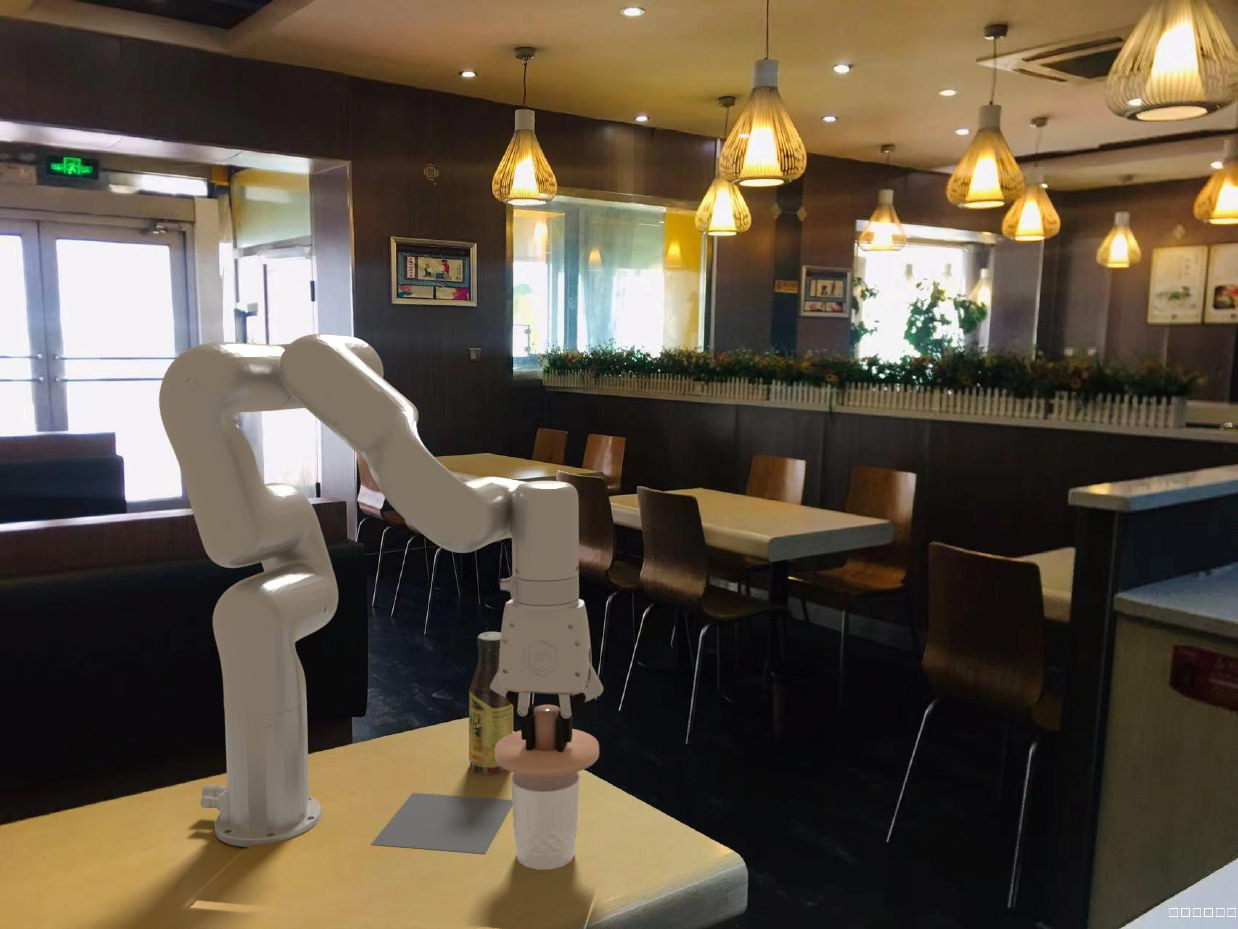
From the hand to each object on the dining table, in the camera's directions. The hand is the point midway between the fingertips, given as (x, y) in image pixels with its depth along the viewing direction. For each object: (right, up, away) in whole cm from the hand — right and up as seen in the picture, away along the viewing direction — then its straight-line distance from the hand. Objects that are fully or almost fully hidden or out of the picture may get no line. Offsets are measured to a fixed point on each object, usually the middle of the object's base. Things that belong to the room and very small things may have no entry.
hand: (547, 745), depth 109 cm
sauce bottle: (-10, -12, +26) cm, 30 cm away
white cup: (0, -14, +1) cm, 14 cm away
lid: (0, -1, 0) cm, 1 cm away
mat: (-13, -13, +9) cm, 21 cm away
